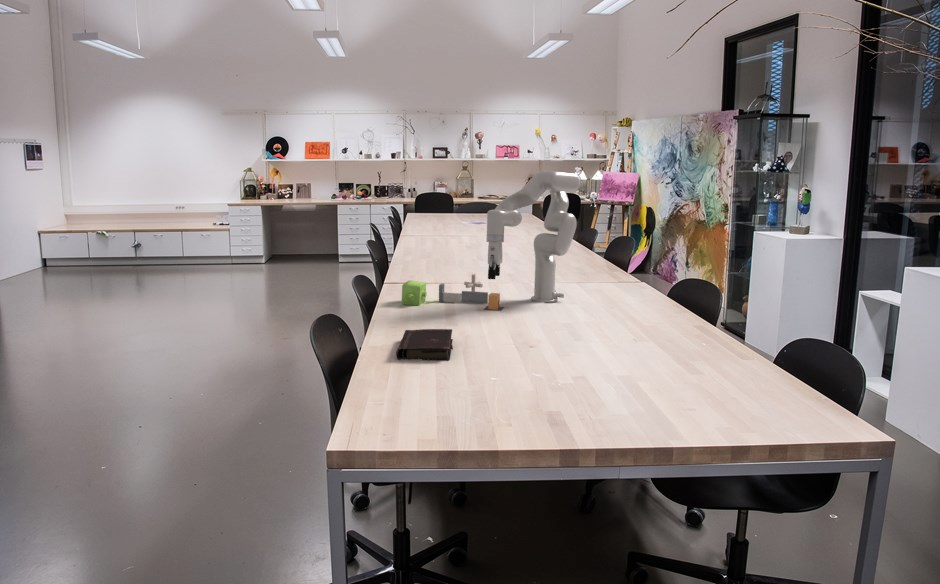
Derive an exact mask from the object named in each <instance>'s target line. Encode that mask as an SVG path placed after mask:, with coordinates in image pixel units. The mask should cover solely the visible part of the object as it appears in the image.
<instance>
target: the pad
mask: <svg viewBox="0 0 940 584" xmlns="http://www.w3.org/2000/svg"><path fill="white" fill-rule="evenodd" d="M504 308H505V306H500V307H499V308H498V310H493V311H494V312H495V311H499V312H502V311H503V309H504ZM482 310H483V311H491V310H490V309H488V305H486V306H485V307H484V308H483V309H482Z"/></svg>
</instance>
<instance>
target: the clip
mask: <svg viewBox="0 0 940 584" xmlns="http://www.w3.org/2000/svg"><path fill="white" fill-rule="evenodd" d="M500 301H501V294H500V292H499V293H497V292H490V293H488V303H487V304H488V305H487V306H488V309H490V310H489V311H494V310H498V308H499V307H501V306H500V305H501V304H500V303H501V302H500Z"/></svg>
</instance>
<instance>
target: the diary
mask: <svg viewBox="0 0 940 584" xmlns="http://www.w3.org/2000/svg"><path fill="white" fill-rule="evenodd" d="M452 336H453V329H452V328H450V329H449V328H448V329H447V328H437V329H436V328H426V329H425V328H424V329H421V328H420V329H406V330H404V333H403V335H402V338H401V340H400V342H399V345H398V347H397V349H396V353H395V355H396V360H397V361H400V358H401V357H402V358H403V360H405V359H407V360H421V361H439V362H440V361H444V362H446V361H449V360H450V359H451V356H452V354H451V353H452V351H453V350H454V348H453V340H454V339H453V338H452Z"/></svg>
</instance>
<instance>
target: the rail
mask: <svg viewBox="0 0 940 584" xmlns="http://www.w3.org/2000/svg"><path fill="white" fill-rule="evenodd" d="M488 298H489V292H488V291H487V292H485V291H475V292H473V291H470V290H468V291H467V290H462V291H461V293H460V292H448V291H447V292H445V283H440V284H438V303H445V304H447V303H449V304H454V303H470V304H471V303H472V304H488Z"/></svg>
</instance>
